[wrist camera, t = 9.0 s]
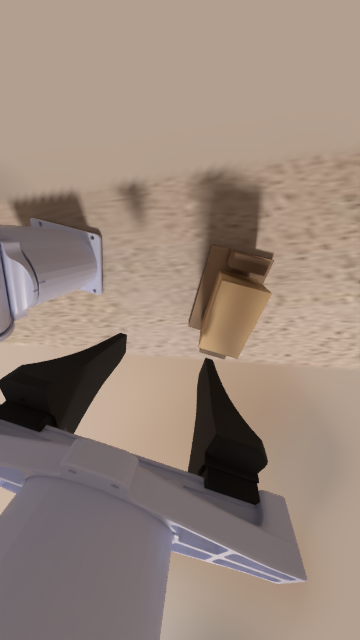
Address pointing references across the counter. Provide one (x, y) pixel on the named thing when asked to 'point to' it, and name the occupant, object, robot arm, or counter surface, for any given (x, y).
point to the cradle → (230, 263)
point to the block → (232, 313)
